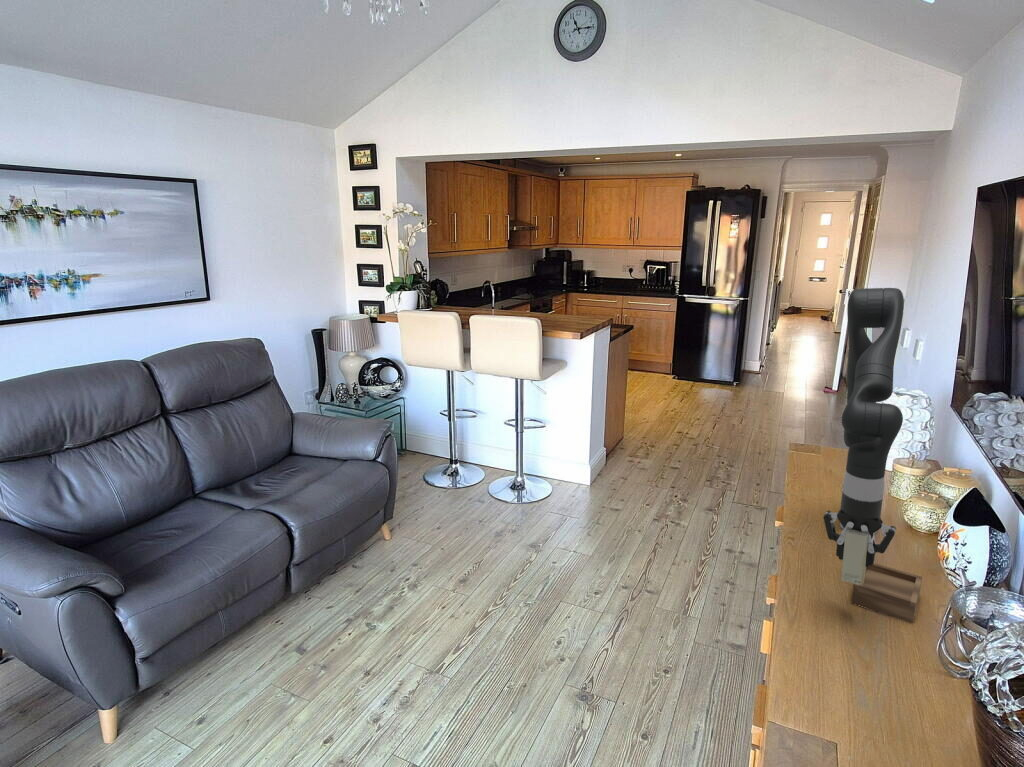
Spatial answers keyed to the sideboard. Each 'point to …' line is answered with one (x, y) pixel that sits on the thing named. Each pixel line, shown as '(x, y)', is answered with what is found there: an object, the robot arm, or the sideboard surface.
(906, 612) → the brown wooden tray
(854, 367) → the robot arm
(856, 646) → the sideboard surface
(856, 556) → the skincare box
